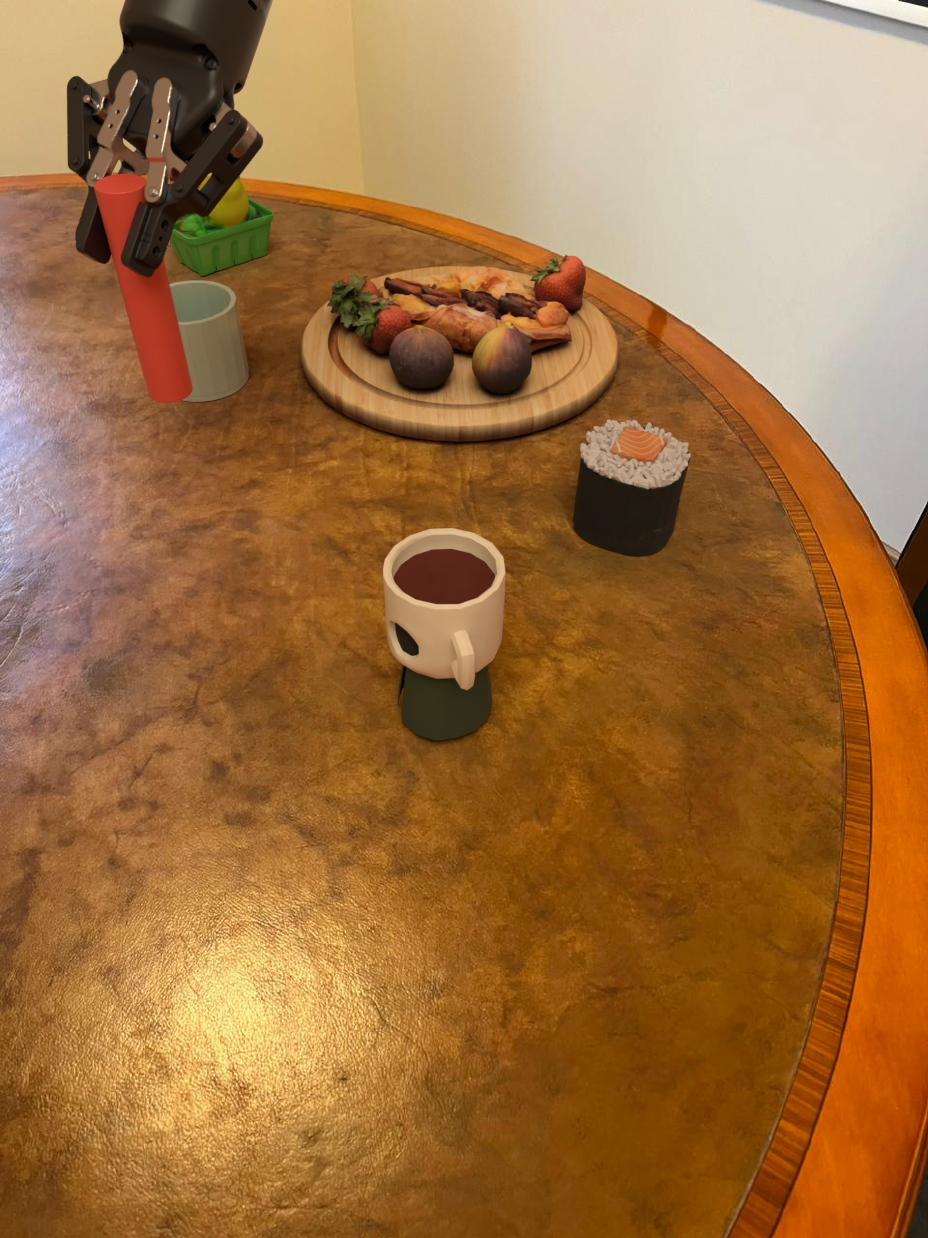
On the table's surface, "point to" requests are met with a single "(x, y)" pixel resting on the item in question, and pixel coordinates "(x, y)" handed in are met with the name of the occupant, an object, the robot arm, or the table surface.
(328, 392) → the wooden plate
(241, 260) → the fruit basket
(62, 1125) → the table surface
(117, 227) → the red cylindrical rod
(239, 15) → the robot arm
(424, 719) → the character mug
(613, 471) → the sushi
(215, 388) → the tumbler
